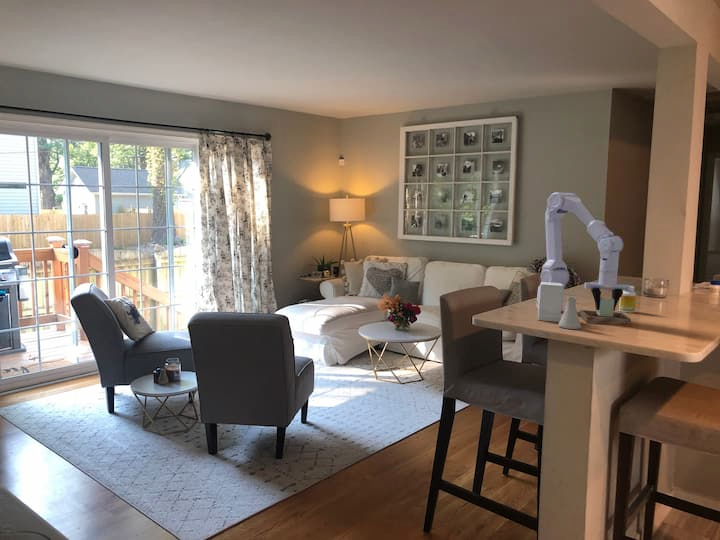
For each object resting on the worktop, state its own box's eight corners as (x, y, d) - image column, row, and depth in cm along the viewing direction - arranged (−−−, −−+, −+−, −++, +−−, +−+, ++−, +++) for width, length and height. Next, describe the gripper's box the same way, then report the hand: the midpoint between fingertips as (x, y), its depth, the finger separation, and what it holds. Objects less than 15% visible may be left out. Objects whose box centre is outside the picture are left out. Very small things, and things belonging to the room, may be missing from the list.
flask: (578, 331, 180) (581, 300, 179) (555, 327, 184) (557, 297, 183) (583, 327, 186) (585, 297, 185) (560, 323, 190) (562, 294, 189)
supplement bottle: (636, 313, 213) (638, 287, 212) (620, 312, 214) (623, 286, 213) (632, 310, 219) (634, 285, 217) (617, 309, 220) (619, 284, 218)
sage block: (599, 315, 195) (600, 298, 195) (596, 313, 200) (597, 296, 199) (612, 316, 195) (614, 299, 194) (609, 314, 199) (611, 297, 198)
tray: (586, 323, 193) (586, 316, 193) (579, 316, 204) (580, 310, 204) (630, 325, 190) (631, 319, 190) (620, 318, 202) (621, 312, 202)
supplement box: (560, 322, 192) (563, 285, 191) (537, 320, 194) (540, 284, 193) (559, 318, 199) (562, 282, 198) (537, 316, 201) (540, 281, 200)
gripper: (588, 271, 193) (585, 310, 194) (634, 273, 190) (630, 313, 192) (584, 269, 199) (581, 307, 201) (628, 271, 197) (624, 309, 199)
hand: (605, 310), depth 197 cm, fingers closed on sage block, 4 cm apart
